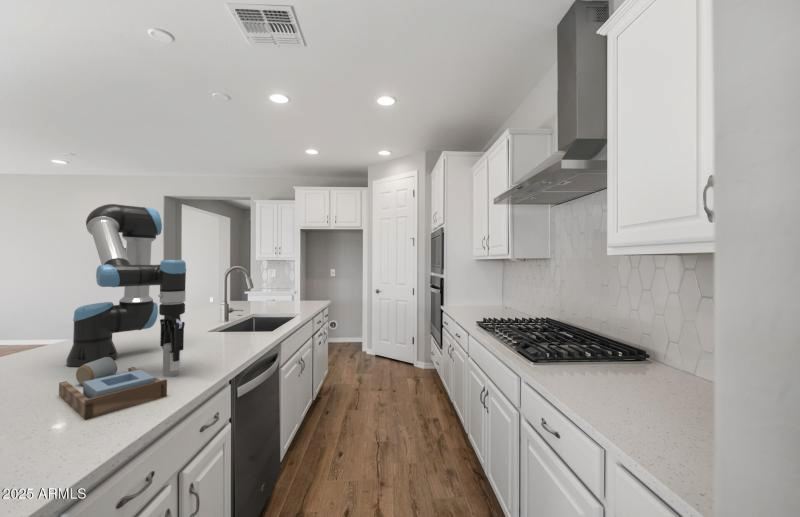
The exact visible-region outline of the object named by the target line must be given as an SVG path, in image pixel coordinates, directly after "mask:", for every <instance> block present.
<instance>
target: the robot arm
mask: <svg viewBox="0 0 800 517" xmlns="http://www.w3.org/2000/svg"><path fill="white" fill-rule="evenodd" d="M85 225H86V229H87V232H88V234H90V235H92V238H93V241H94V244H95V248H96V251H97V254H98V258H99V260H100V263H101V265H98V266H97V268H96V274H95V275H96V276H95V279H96V284H97V285H98V286H99V287H100V288H106V287H107V288H122V287H123V291H124V292H123V297H121V298H120V299H119V300H118V301H119V303H118V304H115V305H114V303H113V302H111V301H107V302H105V301H104V302H96V303H90V304H86V305H82V306H79V307H77V308H76V309H75V310H74V313H73V314H74V315H73V318H72V321H73V339H72V342H73V343H72V347H71V349H70V351H69V353H68V355H67V358H66V361H65V362H66V364H65V365H66V366H67V367H70V366H72V367H71V368H74V367H77V368H79V367H80V366H82V365H84V364H87V363H89V362H93V361H95V360H98V359H101V358H104V357H110V358H112V359H113V360H114V361H115V360H117V359H118V350H117V349H116V346H115V344H114V341H113V334H115V333H125V332H132V331H142V330H146V329H147V330H148V329H150V328H152V327H153V326H154V325H155V323H156V322H157V319H158V313H159V315H160V316H163V318H160V320H159V322H160V336H159V337H160V338H159V339H160V341H159V342H160V343H159V344H160V345H159V346H160V347H161V348H162V349H163V347H164V344H166V343H171V349H172V351H169V352H170V371H175V370H179V371H180V368H181V367H180V366H181V365H180V363H181V362H180V360H181V355H180V354H181V351H184V339H185V338H184V335H185V334H184V330H185V324H186V323H185V322H184V321H181V315H183V314H185V312H186V303H185V301H186V279H187V276H186V274H187V273H186V272H187V266H186V261H185V260H183V259H163V260H161V261H160V263H159V264H151V261H152V243H153V242H154V241H155V240H156V239H157V236H158V235H160V234H161V233H162V231H163V230H162V229H163V223H162V218H161V215H160V213H159V211H158V210H156V209H155V208H149V207H145V206H143V207H142V206H133V205H124V204H123V205H122V204H117V203H109V204H103V205H100V206H98V207H97V208H94V209H93V210H92V211H90V213H89V214H88V215H87V217H86V220H85ZM120 233H121V235H120ZM121 237H122V238H121ZM122 239H123V240H125V241H126V245H125V246H126V248H125V246H124V243H123V240H122ZM150 286H159V294H158V295H157V296H158V298H159V303H161V304H159V308H158V303H156V302H154V299H153V298H152V297H151V296H150ZM158 309H159V310H158Z"/></svg>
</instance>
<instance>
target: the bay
mask: <svg viewBox="0 0 800 517" xmlns="http://www.w3.org/2000/svg"><path fill="white" fill-rule="evenodd" d="M127 370H128V371H127V372H130V371H135V370H140V369H138V368H136V367H135V366H132V367H128V368H127ZM58 383H59V384H58V396H59V397H60V398H61V399H62V400H63V401H64V402H65V403H66V404H68V406H69V407H70V408H72V409H73V411H75V412H76V413H77V414H78V415H79V416H80V417H81V418H83V419H84V420H85V421H87V420H90V419H93V418H97V417H100V416H103V415H107V414H110V413H114V412H118V411H121V410H124V409H128V408H131V407H134V406H138V405H142V404H145V403H149V402H151V401H154V400H159V399H162V398H166V397H167V394H168V379H162V380H161V379H159V378H157V377H155V382H153V383H149V384H145V385H141V386H137V387H133V388H129V389H125V390H121V391H117V392H114V393H110V394H106V395H102V396H98V397H94V398H90V399H88V398H87V397H86V396H84V395H83V392H81V391H80V390H78V389H77V388H76V387H74V386H73V385H72V384H71V383H70V382H68V381H67V380H66V381H61V382H58Z"/></svg>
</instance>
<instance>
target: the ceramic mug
mask: <svg viewBox="0 0 800 517" xmlns="http://www.w3.org/2000/svg"><path fill="white" fill-rule="evenodd" d="M116 374H118V366H117V362H116V361H115V360H113V359H112V358H110V357H104V358H101V359H98V360H95V361H93V362H89V363H87V364H84V365H82V366H80V367H77V370H76V372H75V378H76V381H77V382H78V383H79V384H80V385H81V386H83V382H84V381H89V380H94V379H98V378H103V377H107V376H112V375H116Z"/></svg>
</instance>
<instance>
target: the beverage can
mask: <svg viewBox="0 0 800 517" xmlns="http://www.w3.org/2000/svg"><path fill="white" fill-rule="evenodd" d="M162 347H163V346H162ZM162 350H163V351H162V353H163V354H162V377H165V378H169V377H176V376H178V375H179V374H180V369H179V370H175V371H170V352H169V351H172V349H171V343H166V344H164V347H163V348H162Z"/></svg>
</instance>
